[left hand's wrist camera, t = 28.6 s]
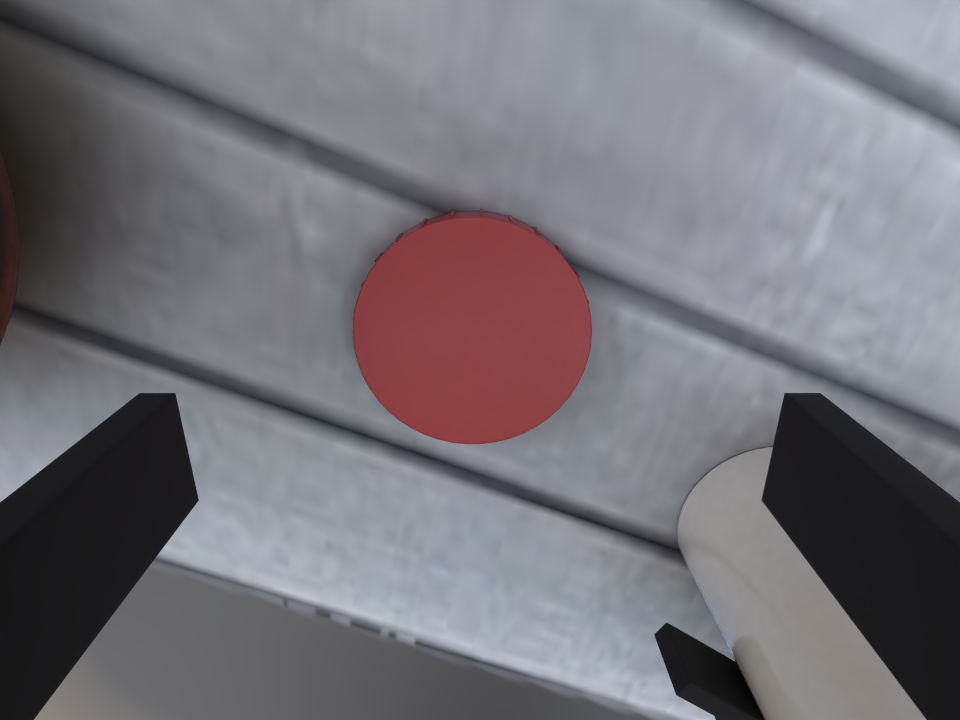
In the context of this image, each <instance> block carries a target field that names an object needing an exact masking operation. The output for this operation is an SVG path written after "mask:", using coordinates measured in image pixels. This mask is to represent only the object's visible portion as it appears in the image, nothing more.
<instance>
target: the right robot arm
mask: <svg viewBox="0 0 960 720" xmlns="http://www.w3.org/2000/svg"><path fill="white" fill-rule="evenodd" d="M654 635H655V638H656V641H657V643H658V646H659V649H660V652H661V654H662V657H663V660H664V662H665V665H666V668H667V671H668V673H669V676H670V679H671V682H672V684H673V687H674V690H675V693H676V695H677V696H679V697H681V698H683V699H685V700H686V701H688V702H690V703H692V704H694V705H696V706H697V707H699V708H701V709H703V710H705V711H707V712H709V713H710V714H712V715H714V716H715V718H716V720H765V719H764V717H763V715H762V713H761V711H760V709H759V707H758V705H757V703H756V701H755V699H754V697H753V695H752V693H751V691H750V689H749V687H748V685H747V683H746V681H745V679H744V677H743V675H742V673H741V671H740V669H739V667H738V665H737V663H736V662H735V661H733V660H731V659H729V658H728V657H726V656H724V655H722V654H721V653H719V652H717V651H715V650H714V649H712V648H710V647H709V646H707V645H705V644H703V643H702V642H700V641H698V640H696V639H695V638H693V637H691V636H689V635H688V634H686V633H684V632H682V631H681V630H679V629H677V628H675V627H674V626H672V625H670V624H668V623H666V624H665V625H664V626H663V627H662V628H661V629H660V630H659V631H658V632H657V633H656V634H654Z"/></svg>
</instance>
